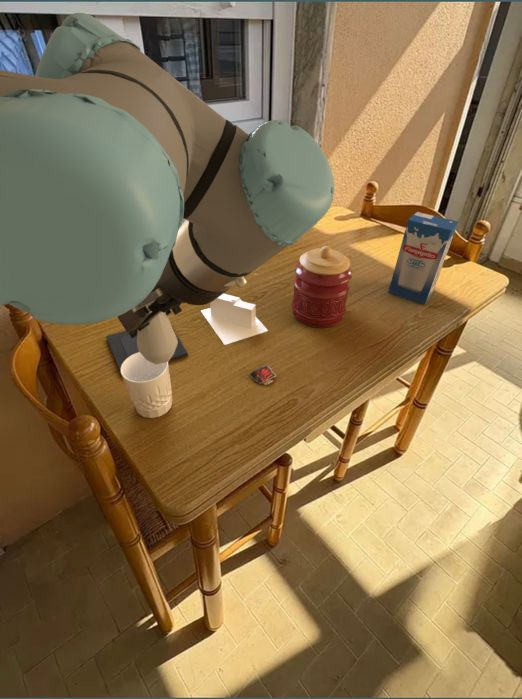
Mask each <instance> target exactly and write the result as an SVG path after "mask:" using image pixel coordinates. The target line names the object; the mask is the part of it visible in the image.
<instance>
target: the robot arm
mask: <svg viewBox="0 0 522 699" xmlns="http://www.w3.org/2000/svg"><path fill="white" fill-rule="evenodd" d="M38 62H39V63H38V65H37V68H36V71H35V75H31V74H26V73H20V72H14V71H9V70H3V69H0V306H6V305H10V306H12V307H14V308H16V309H18V310H20V311H22V312H25V313H28V314H30V315H31V317H33V318H34V319H35V320H37V321H40V322H45V323H48V324H49V323H50V324H56V325H62V326H63V325H65V326H66V325H67V326H83V325H91V324H98V323H102V322H106V321H109V320H112V319H115V318H117V319H118V321H119V323H120V324H121V325H122V327H123V328H124V331H125V330H126V331H127V333H128V334H129V335H130V336H131V338H134V337H136V336H137V334H138V332H137V329H138V330H139V331H141V330H142V329H144V328H145V327H146V326H148V325H149V321H151V320H152V319H153V318H154V317H156V316H157V315H158V314H159V313H161V312H163V313H164V312H166V315H167V316H169V315H171V313H173V315H175V316H176V315H178V314H180V313H181V312H182V311H183V310H182V308H181V305H182V304H187V305H191V306H204V305H208V304H210V303H211V302H212V301H214V300H215V299H217V298H218V297H219V296H221V295H222V294H226V292H228V291H229V290H230V289H231V288H232V287H234V286H235V285H236V286H238V287H239V288H244V287H245V286H246V285H247V284H248V281H247V278H245V277H248V276H249V275H250V274H251V273H253V272H254V271H256V270H257V269H259V267H261V266H262V265H264V264H266V263H267V262H269V260H272V259H273V258H274V257H275V256H276V255H279V254H280V253H281V252H282V251H284V250H285V249H287V248H288V247H289V246H293V245H294V244H296V243H297V242H299V241H300V239H301V238H302V237H303V236H304V235H306V234H307V232H309V231H310V230H311V229H312V228H314V227H315V226H316V225H317V224H318V222H320V221H321V220H322V219H323V218H324V217H325V215H327V213H328V212H329V210H330V208H331V206H332V203H333V201H334V194H335V181H334V180H335V179H334V175H333V170H332V167H331V165H330V162H329V160H328V158H327V156H326V154H325V152H324V150H323V149H322V148H321V146H320V144H319V143H318V142H317V141H316V140H315V139H314V137H312V135H310V134H309V132H307V131H306V130H305V129H303V128H302V127H301V126H299V125H289V123H288V122H287V121H285V120H282V119H272V120H268V121H266V122H264V123H262V124H261V125H259V126H258V127H257V128H256V129H254V130H252V131H251V132H250V133H247V132H246V131H245V130H244V129H242V128H241V127H240V126H238V125H237V124H234V123H232V122H231V121H230V120H228V119H226V118H225V117H224V116H222V115H221V114H220V113H218V112H217V111H216V110H215V109H213V108H212V107H211V106H209V105H208V104H207V103H206V102H205V101H204V100H202V99H201V98H200V97H198V96H197V95H196V94H195V93H194V92H192V91H191V90H190V89H189V88H187V87H186V86H185V85H183V84H182V83H181V82H179V80H177V79H176V78H175V77H173V76H172V75H171V74H170V73H169V72H168V71H166V70H165V69H163V68H162V67H161V66H160V65H158V64H157V63H156V62H155V61H153V60H152V59H151V58H150V57H149V56H148V55H146V54H145V53H144V52H143V51H141V47H140V46H139V45H138V44H136V43H135V42H133V40H131V39H128V38H124V37H122V36H121V35H119V34H118V33H117V32H115V31H114V30H112V28H110V27H108V26H107V25H106V24H104V23H102V22H101V21H99V20H98V19H97V18H96V17H94V16H93V15H91V14H89V13H85V12H73V13H72V14H69V15H67V16H66V17H65V19H64V20H63V21H62V23H61V25H60V26H58V27H55V29H54V30H53V32H52V34H51V35H50V37H49V39H48V42H47V43H46V45H45V47H44V50H43V51H42V55H41V56H40V60H39V61H38ZM183 221H184V222H183Z"/></svg>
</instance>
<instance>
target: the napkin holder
mask: <svg viewBox="0 0 522 699" xmlns="http://www.w3.org/2000/svg"><path fill="white" fill-rule="evenodd" d="M256 311H257V304H255V303H251V302H246V301H243V300H242V299H241V298H240V297H239V296H235V295H231V294H227V293H224V294H222V295H221V296H219V297H218V298H217V299H215V300H214V301H212V302H211V303H209V307H208V308H205V309H201V310H200V313H201V314H202V316H203V317H204V318H205V319H206V321H207V322H208V324H209V326H210V327H211V328H212V329H213V331H214V332H215V334H216V335H217V337H218V338H219V340H221V342H222V343H223V345H224V346H226V345H229V344H232V343H235V342H238V341H241V340H245V339H248V338H251V337H254V336H257V335H260V334H264V333H267V332H269V330H268V328H267V327H266V326H265V325H264V324H263V323H262V322H261V320H260V319H259V318H258V316H257V315H256V314H257V312H256Z"/></svg>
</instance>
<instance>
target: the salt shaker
mask: <svg viewBox="0 0 522 699" xmlns="http://www.w3.org/2000/svg"><path fill="white" fill-rule="evenodd" d="M168 316H169V315H168ZM168 316H167V315H166V312H164V313H163V312H161V313H159V314H158V315H157V316H156V317H154V318H153V319H152V320H151V321H149V325H148V326H146V327H145V328H144V329H142V330H141V331H139V330H138V329H137V332H138V334H137V346H138V350H139V352H140V353H141V354H142V355H143V357H144V358H145V359H146V360H148V361H150V362H152V363H154V364H160V363H164V362H168V361H169V360H170V358H171V357H172V356H173V354H174V352H175V350H176V347H177V344H178V340H177V338H176V335H177V334H176V335H175V333H176V332H175V330H174V328H173V326H172V324H171V321H170V318H169V317H168ZM173 330H174V331H173ZM174 332H175V333H174ZM168 363H169V362H168Z"/></svg>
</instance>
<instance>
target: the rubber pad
mask: <svg viewBox="0 0 522 699" xmlns="http://www.w3.org/2000/svg"><path fill="white" fill-rule="evenodd" d="M173 331H174V333H175V335H176V338H177V340H178V344H177V347H176V350H175V352H174V354H173V356H172V357H171V358H170V360H169V361H168V363H169V362H172V361H176V360H179V359H182V358H185V357H188V356H189V353H188V351H187V349H186V348H185V346H184V344H183V343H182V341H181V340H180V338H179V337H178V335H177V333H176V331H175V330H174V329H173ZM105 338H106V340H107V343H108V346H109V349H110V350H111V353H112V356H113V358H114V360H115V363H116V365H117V368H118V370H119V373H120V374H121V371H120V370H121V365H122V364H123V362H124V361H125V360H126V359H127V358H128V357H130V356H131V355H133V354H135V353H138V352H139V350H138V346H137V336H136V337H134V338H131V336H130V335H129V334H128V333H127V331H126V330H125V329H124V330H123V331H119V332H116V333H115V332H114V333H112V334H109V335H106V336H105Z"/></svg>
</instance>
